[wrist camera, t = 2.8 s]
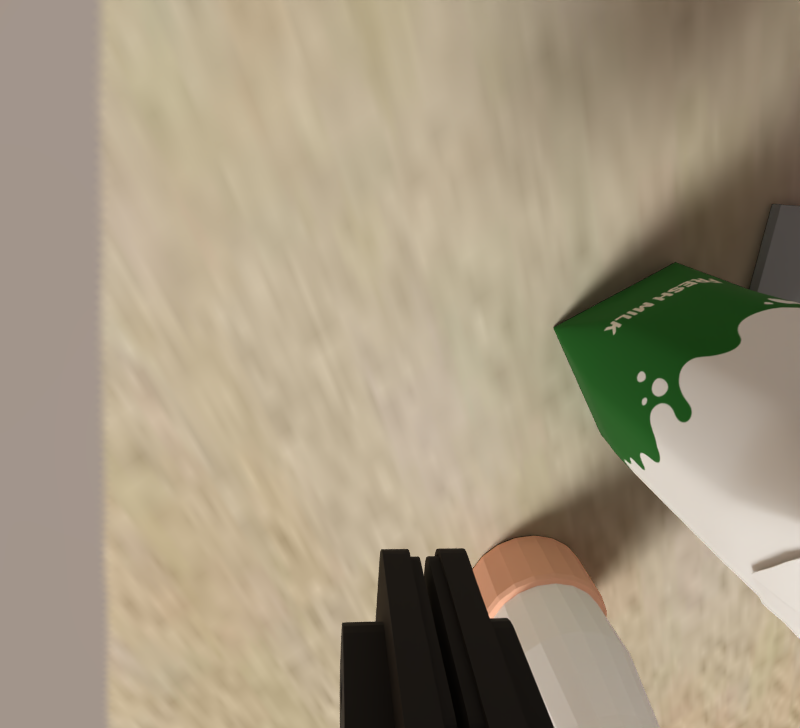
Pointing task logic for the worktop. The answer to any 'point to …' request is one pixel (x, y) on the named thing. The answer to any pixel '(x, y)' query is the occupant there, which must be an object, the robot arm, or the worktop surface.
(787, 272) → the mat
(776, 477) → the soya milk
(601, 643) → the pepper shaker
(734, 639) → the worktop surface
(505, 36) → the worktop surface
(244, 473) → the worktop surface
